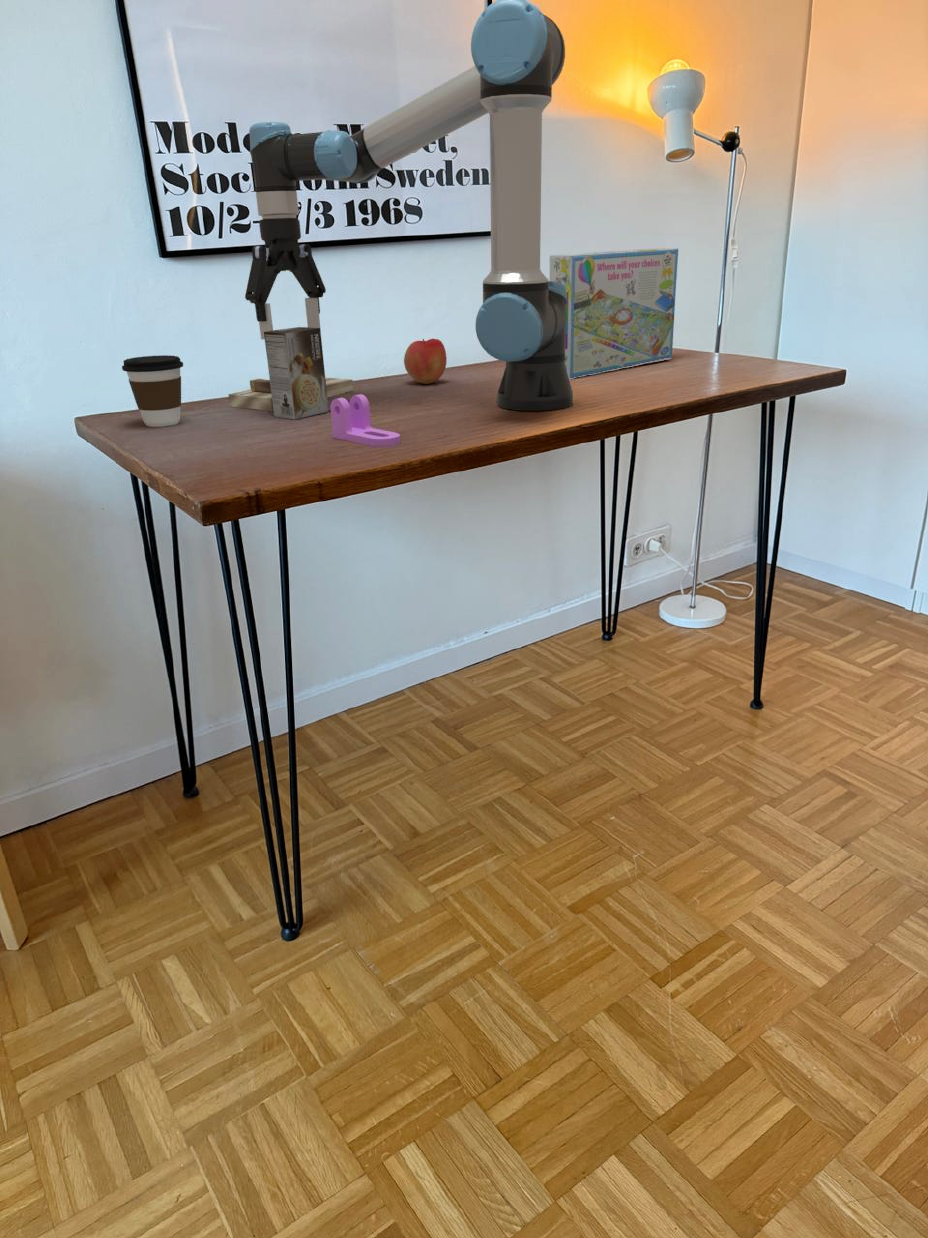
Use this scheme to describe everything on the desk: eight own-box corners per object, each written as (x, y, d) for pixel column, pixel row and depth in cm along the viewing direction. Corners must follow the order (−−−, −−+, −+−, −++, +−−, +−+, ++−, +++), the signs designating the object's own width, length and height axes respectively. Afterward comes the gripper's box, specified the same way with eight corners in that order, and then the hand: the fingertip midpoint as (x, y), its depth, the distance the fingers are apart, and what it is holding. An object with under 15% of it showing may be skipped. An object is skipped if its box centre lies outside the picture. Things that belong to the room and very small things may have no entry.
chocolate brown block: (316, 405, 179) (313, 370, 176) (297, 410, 174) (293, 374, 171) (266, 400, 186) (263, 367, 183) (246, 405, 181) (242, 370, 178)
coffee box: (307, 409, 175) (299, 326, 169) (329, 412, 172) (322, 327, 165) (272, 416, 169) (262, 330, 162) (295, 420, 165) (285, 332, 159)
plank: (353, 390, 194) (352, 379, 193) (272, 411, 174) (270, 397, 173) (312, 387, 200) (311, 376, 199) (230, 406, 180) (228, 393, 179)
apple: (440, 379, 207) (438, 335, 203) (452, 384, 199) (450, 339, 195) (401, 381, 204) (398, 337, 200) (411, 387, 196) (409, 341, 192)
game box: (650, 358, 230) (657, 247, 219) (672, 361, 226) (680, 247, 214) (547, 377, 206) (549, 253, 195) (569, 380, 201) (572, 253, 190)
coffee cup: (158, 431, 158) (147, 364, 153) (120, 426, 164) (107, 361, 159) (204, 420, 167) (194, 356, 162) (165, 416, 172) (155, 353, 167)
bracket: (333, 438, 150) (329, 397, 147) (357, 432, 154) (354, 393, 151) (382, 449, 142) (379, 406, 139) (407, 442, 145) (405, 401, 143)
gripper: (308, 217, 174) (318, 328, 182) (215, 218, 155) (231, 341, 163) (336, 216, 170) (346, 329, 179) (245, 216, 151) (260, 343, 160)
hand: (291, 335), depth 171 cm, fingers open, 13 cm apart
